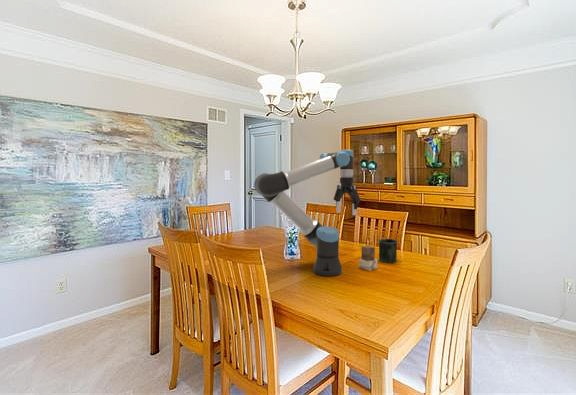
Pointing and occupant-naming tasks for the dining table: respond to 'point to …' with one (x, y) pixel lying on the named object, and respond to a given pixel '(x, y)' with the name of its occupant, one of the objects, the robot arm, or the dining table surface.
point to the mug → (388, 250)
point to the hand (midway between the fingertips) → (346, 213)
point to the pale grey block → (368, 264)
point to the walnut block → (368, 253)
